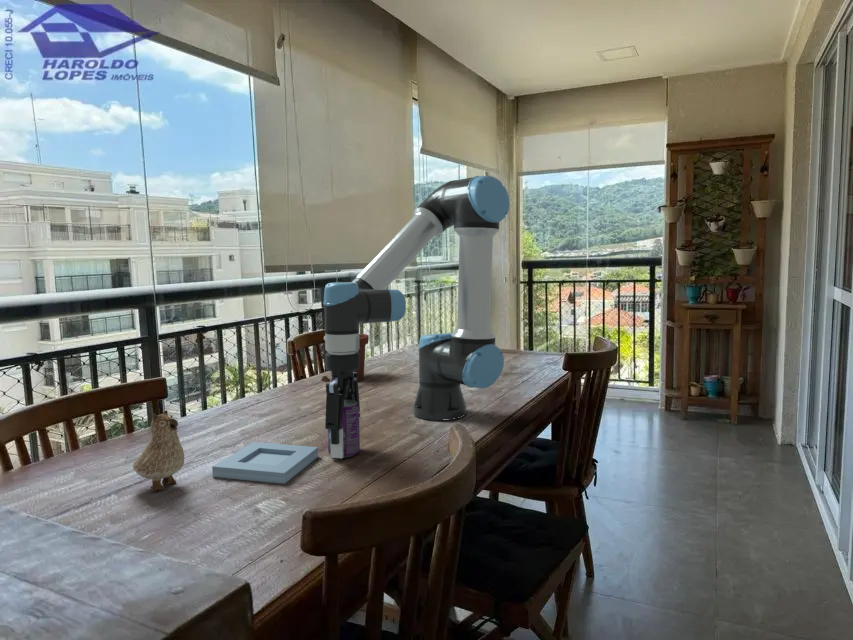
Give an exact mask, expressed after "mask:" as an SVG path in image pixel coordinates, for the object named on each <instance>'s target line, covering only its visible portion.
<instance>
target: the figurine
mask: <svg viewBox="0 0 853 640" xmlns="http://www.w3.org/2000/svg"><path fill="white" fill-rule="evenodd" d="M151 419H152V421H151V423H150V432H151V434H152V436H151V437H150V440H149V441H148V443H147V444H146V446H145V447H144V449H143V450H142V452H141V454H140V455H139V456H138V458H136V460H135V461H134V462H133V465H132V468H133V470H134V472H135V473H136V474H137V475H139V476H140V477H142V478H143V479H149V480H151V483H152V485H151V486H150V489H151V492H152V493H154V492H157V491H162V490H165V486H168V485H171V484H176V483H177V480H176V479H175V478H174V477H173V475H175V474H176V473H178V472H179V471H180V470H181V469H182V468H183V466H184V464H185V452H184V448H183V446H182V444H181V441H180V437H179V435H178V431H177V430H178V426H179V422H178V420H177V419H176V418H173V417H171V416H169V415H168V410H164V411H163V412H162V413H160V414H158V415H157V413H153V414H152V418H151ZM162 484H163V485H162ZM163 486H164V487H163Z"/></svg>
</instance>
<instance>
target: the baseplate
mask: <svg viewBox="0 0 853 640" xmlns="http://www.w3.org/2000/svg"><path fill="white" fill-rule="evenodd" d="M317 458H319V447H318V446H307V445H295V444H294V445H293V444H284V443H283V444H282V443H271V442H257V441H253V442H251V443H250V444H247V445H246V446H244V447H242V448H241V449H239V450H237V451H236V452H234V453H232V454H231V455H229V456H228V457H226V458H224V459H222V460H221V461H219V462H216V463H215V464H214V465H212V467H211V468H212V469H211V470H212V477H213V478H221V479H232V480H240V481H241V480H242V481H250V482H262V483H270V484H271V483H272V484H283V485H285V484H286V483H288V482H289V481H290V480H291V479H292V478H294V477H295V476H296V475H297V474H299V473H300V472H301V471H303V469H305V468H306V467H308V466H309V465H310V464H311V463H312V462H313V461H315V460H316V459H317Z"/></svg>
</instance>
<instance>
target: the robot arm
mask: <svg viewBox="0 0 853 640" xmlns="http://www.w3.org/2000/svg"><path fill="white" fill-rule="evenodd" d="M509 210H510V197H509V193H508V190H507V188H506V187H505V185H503V182H501V180H500V179H498V178H496V177H494V176H492V175H475V176H472V177H466V178H463V179H454V180H450V181H447V182H445V183H443V184H441V185H440V186H438V187H437V188H436V189H435V190H433V192H431V193H430V194H429V195H428V196H427V197H426V198H425V199H424V200H423V201H422V202H420V204H419V205H418V206H417V207H416V208H415V209H414V212H413V216H412V218H411V219H410V220H409V221H407V223H406V224H405V225H404V226H403V227H402V228H401V229H400V230H399V231H398V233H397V234H396V235H395V236H394V237H393V238H392V239H390V241H389V242H388V243H387V244H386V245H385V246H384V247H383V248H382V249H381V250H380V251H379V252H378V254H377V255H376V256H375V257H374V258H373V259H372V260H371V261H370V262H369V263H368V264H367V265H366V266H365V267H364V268H363V269H362V271H360V272H359V274H357V276H355V278H354V279H352V281H351V282H350V281H348V282H347V281H345V282H341V281H339V282H328V283H327V284H325V287H324V292H323V294H324V295H323V307H324V309H323V310H324V312H323V313H324V336H323V340H324V342H325V343H324V345H325V346H324V347H325V351H326V353H325V358H324V360H325V361H324V362H325V364H324V365H325V369H326V370H327V371H329V372H332V373H333V374H332V373H331V380H330V382H325V392H326V399H325V403H326V404H325V423H324V424H325V425H324V426H325V427H324V428H325V430H328V429H330V446H331V454H330V458H333V459H343V457H344V456H343V429H342V428H341V424H342V416H343V408H344V400H345V399H346V400H355V401H357V406H358V408H359V419H360V418H361V413H360V411H361V408H360V407H361V406H360V394H359V393H360V391H359V381H358V372H353V371H354V370H357V369H358V368H359V353H358V352H357V351H358V350H359V334H360V325H364V324H375V323H387V322H388V323H391V322H397V321H400V320H402V319H403V318H404V316H405V315H406V310H407V301H406V298H405V295H404V293H402V291H401V290H399V289H390V288H388V286H390V284H391V283H392V282H393V281H394V280H396V278H397V277H398V276H399V275H400V273H402V271H404V270H405V268H407V266H408V265H410V263H411V262H412V261H413V260H414V259H415V257H417V255H418V254H419V253H420V252H421V251H422V250H423V249H424V248H425V247H426V245H428V243H429V242H430V241H431V240H432V239H433V238H435V237H439V236H441V235H442V234H443V232H445V231H446V230H447V229H449V228H451V227H453V231H454V232H455V233H456V234H457V235H458V237H459V250H458V283H457V287H458V288H457V314H456V315H457V317H456V318H457V319H456V321H457V323H456V325H457V326H456V329H455V330H454V331H453V332H443V333H433V334H425V335H422V336H421V337H420V339H419V343H418V345H419V346H418V367H419V368H418V370H419V372H418V375H419V376H418V377H419V382H418V383H419V385H418V390H417V393H416V396H415V399H414V403H413V407H412V410H413V412H412V414H413V416H415V417H416V418H418V417H419V419H422V420H426V419H430V420H429V421H437V420H443V419H453V418H458V417H461V416H463V415H465V414H466V415H467V404H466V401H465V398H464V397H465V396H464V395H463V391H462V389H461V385H463V386H466V387H468V388H471V389H472V388H474V389H476V388H477V389H487V388H489V387H490V386H492V385H494V384H495V383H496V381H497V380H498V379H499V378H500V376H501V375H502V372H503V369H504V365H505V358H504V353H503V352H502V350H501V349H500V348H499V347H498V346H497V345H496V335H495V333H493V332H492V331H491V309H492V308H491V305H492V281H493V280H492V275H493V273H492V272H493V244H494V243H493V241H494V239H493V238H494V237H495V236H496V235H497V234H498V233H499V231H500V222H501V221H503V220H504V219H505V218H506V215H508V214H509ZM466 415H465V416H466Z"/></svg>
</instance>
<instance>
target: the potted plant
mask: <svg viewBox="0 0 853 640" xmlns="http://www.w3.org/2000/svg"><path fill="white" fill-rule="evenodd" d="M369 338H370V335H369V334H366V333H359V350H358V351H357V352H358V353H359V368H358V369H357V370H354V371H353V372H358V382H361V381H363V380H364V379H365V378H364V377H365V363H366V361H365V359H366V358H365V357H366V345H368V344H369V340H370V339H369ZM330 372H331V371H330ZM332 374H333V373H332V372H331V375H332ZM320 381H322V382H325V383H330V382H331V380H330V378H328V376H327V375H324V376H322V377H321V380H320Z"/></svg>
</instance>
